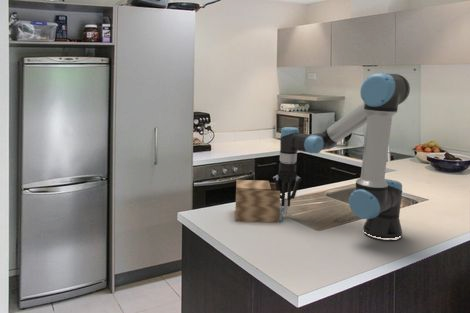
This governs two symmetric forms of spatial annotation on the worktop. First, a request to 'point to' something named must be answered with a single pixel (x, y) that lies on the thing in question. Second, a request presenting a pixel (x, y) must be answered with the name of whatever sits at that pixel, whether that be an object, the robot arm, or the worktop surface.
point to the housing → (257, 201)
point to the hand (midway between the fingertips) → (285, 213)
